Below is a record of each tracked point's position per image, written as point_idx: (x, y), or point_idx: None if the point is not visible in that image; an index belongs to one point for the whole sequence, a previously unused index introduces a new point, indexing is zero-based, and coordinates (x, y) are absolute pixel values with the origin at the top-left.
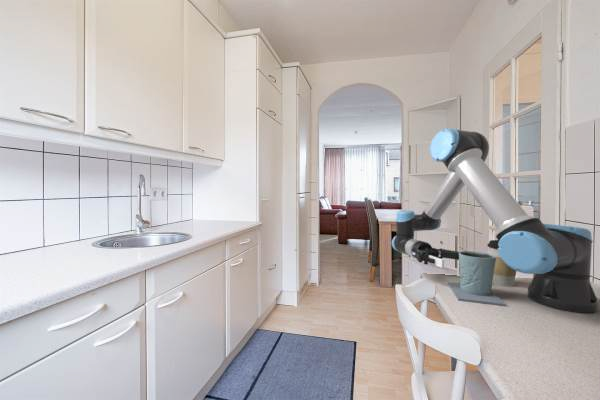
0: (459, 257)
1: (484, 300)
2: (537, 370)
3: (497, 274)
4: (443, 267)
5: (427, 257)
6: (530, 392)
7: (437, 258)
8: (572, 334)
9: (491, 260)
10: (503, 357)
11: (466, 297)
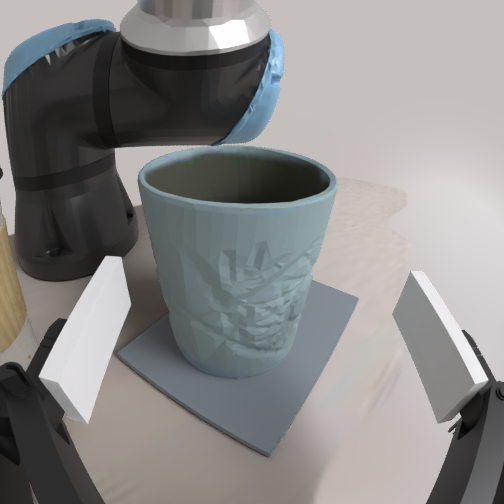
0: (328, 215)
1: None
2: (366, 190)
3: (24, 321)
4: (395, 313)
5: (488, 381)
6: (391, 187)
7: (442, 301)
8: None
9: (236, 154)
10: (387, 202)
11: (325, 298)
